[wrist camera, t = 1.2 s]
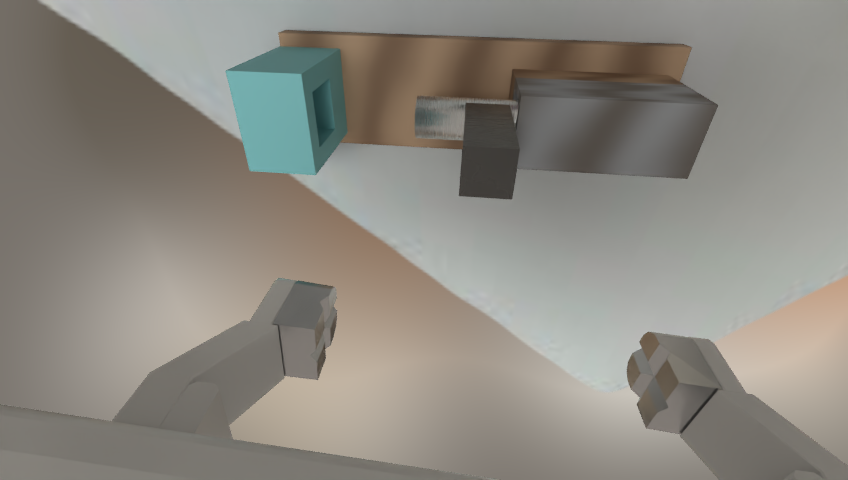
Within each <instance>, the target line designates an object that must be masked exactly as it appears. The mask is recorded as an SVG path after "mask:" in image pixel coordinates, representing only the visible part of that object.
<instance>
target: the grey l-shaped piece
mask: <svg viewBox="0 0 848 480" xmlns="http://www.w3.org/2000/svg"><path fill="white" fill-rule="evenodd" d="M518 108H519V101H518V100H502V99H481V98H460V97H438V96H417V99H416V107H415V137H416V138H425V139H444V140H462V141H463V149H462V162H461V176H460V189H459V196H468V197H484V198H499V199H512V196H513V190H514V184H515V177H516V171H517V165H518V158H519V152H520V147H519V143H518V138H517V134H516V130H515V128H516V121H517V115H518Z"/></svg>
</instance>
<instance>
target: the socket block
mask: <svg viewBox="0 0 848 480" xmlns="http://www.w3.org/2000/svg"><path fill="white" fill-rule="evenodd" d="M226 75H227V79H228V83H229V87H230V91H231V95H232V99H233V103H234V108H235V112H236V116H237V120H238V124H239V128H240V132H241V136H242V141H243V145H244V149H245V152H246V157H247V161H248V165H249V169H250V171H260V172H276V173H291V174H307V175H316V174H317V173H318V171H319V170H320V169H321V167H322V166H323V165H324V163H325V162H326V161H327V159H328V158H329V157H330V155H331V154H332V153H333V151H334V150H335V149H336V147H337V146H338V145H339V143H340V142H341V141H342V139H343V138H344V137H345V135H346V134H347V133H348V131H347V120H346V109H345V98H344V87H343V76H342V65H341V54H340V49H338V48H312V47H286V46H280V47H278V48H276V49H273V50H271V51H269V52H267V53H264V54H262V55H260V56H258V57H255V58H253V59H251V60H248V61H246V62H244V63H242V64H239V65H237V66H235V67H233V68H230V69H228V70H226Z"/></svg>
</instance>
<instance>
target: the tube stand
mask: <svg viewBox="0 0 848 480" xmlns="http://www.w3.org/2000/svg"><path fill="white" fill-rule="evenodd" d="M278 34H279V40H280V46H286V47H312V48H338V49H340V54H341V65H342V76H343V87H344V98H345V109H346V120H347V131H348V133H347V134H346V135H345V137H344V138H343V139H342V141H341V142H342V143H359V144H377V145H395V146H412V147H430V148H448V149H463V141H462V140H444V139H425V138H416V137H415V107H416V99H417V96H438V97H460V98H481V99H502V100H518V101H519V108H518V115H517V121H516V128H515V130H516V134H517V138H518V143H519V147H520V152H519V158H518V165H517V169H532V170H549V171H566V172H582V173H599V174H616V175H633V176H650V177H667V178H683V179H687V178H688V176H689V174H690V171H691V169H692V167H693V164H694V162H695V159H696V157H697V155H698V152H699V150H700V147H701V145H702V143H703V140H704V138H705V135H706V133H707V131H708V128H709V126H710V123H711V121H712V119H713V116H714V114H715V112H716V109H717V107H718V105H717V104H715V103H714V102H712V101H710V100H709V99H707V98H705V97H704V96H702V95H701V94H699V93H697V92H696V91H694V90H692V89H691V88H689V87H687V86H686V85H684V84H682V83H681V82H680V80H681V77H682V74H683V71H684V68H685V66H686V63H687V60H688V57H689V54H690V51H691V49H692V47H689V46H687V45H684V44H664V43H635V42H607V41H579V40H550V39H522V38H493V37H465V36H437V35H408V34H380V33H352V32H323V31H295V30H284V31H282V32H279V33H278Z"/></svg>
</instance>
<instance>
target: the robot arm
mask: <svg viewBox="0 0 848 480" xmlns="http://www.w3.org/2000/svg"><path fill="white" fill-rule="evenodd" d="M336 298H337V297H336V288H335V287H333V286H327V285H321V284H315V283H309V282H304V281H295V280H289V279H283V278H278V279H277V280H275V281H274V283H273V284H272V286H271V288H270V290H269V291H268V293H267V294H266V296H265V297H264V299H263V301H262V302H261V304H260V305H259V307H258V309H257V310H256V312H255V313H254V315H253V317H252V318H251V320H250V321H242V322H240V323H239V324H237V325H235V326H233V327H231V328H229V329H228V330H226V331H224V332H222V333H220V334H219V335H217V336H215V337H213V338H211V339H210V340H208V341H206V342H204V343H202V344H201V345H199V346H197V347H195V348H193V349H191V350H190V351H188V352H186V353H184V354H182V355H181V356H179V357H177V358H175V359H173V360H171V361H170V362H168V363H166V364H164V365H162V366H161V367H159V368H157V369H155V370H154V371H152V372H150V373H149V374H148V376H147V377H146V378H145V380H144V381H143V382H142V383H141V385H140V386H139V387H138V388H137V390H136V391H135V392H134V394H133V395H132V396H131V397H130V399H129V400H128V401H127V402H126V404H125V405H124V406H123V407H122V409H121V410H120V411H119V413H118V414H117V415H116V416H115V417H114V419H113V420H112V421H107V420H101V419H94V418H87V417H81V416H74V415H67V414H61V413H54V412H48V411H41V410H34V409H28V408H21V407H14V406H8V405H1V404H0V480H498V479H492V478H485V477H479V476H472V475H465V474H459V473H452V472H445V471H439V470H432V469H426V468H419V467H413V466H405V465H399V464H393V463H386V462H379V461H373V460H366V459H359V458H353V457H346V456H340V455H333V454H326V453H320V452H313V451H306V450H300V449H293V448H286V447H280V446H273V445H266V444H260V443H253V442H246V441H240V440H233V438H232V434H231V431H230V427H229V425H230V424H231V423H232V422H233V421H235V420H236V419H237V418H238V417H239V416H240V415H241V414H243V413H244V412H245V411H246V410H247V409H249V408H250V407H251V406H252V405H253V404H255V403H256V402H257V401H258V400H259V399H260V398H262V397H263V396H264V395H265V394H266V393H267V392H269V391H270V390H271V389H272V388H273V387H274V386H276V385H277V384H278V383H279V382H280V381H281V380H282V379H284V376H290V377H299V378H307V379H316V380H318V378H319V375H320V373H321V370H322V367H323V364H324V362H325V359H326V355H325V349H326V348H327V347H329V346H330V345H331V342H332V340H333V337H334V332H335V328H336V321H337V310H336V309H335V308H334V303H335V301H336ZM640 345H641V347H642V348H641V349H640V350H638V351H636V352H634V353H632V355H631V357H630V359H629V361H628V366H627V378H628V382H629V385H630V388H631V390H633V391H634V392H635V393H636V394H637V395H638V396H639V397H640V398H639V401H638V403H637V406H638V409H639V411H640V414H641V417H642V419H643V422H644V424H645V427H646V428H648V429H653V430H659V431H665V432H670V433H676V434H681V435H680V437H681V438H682V439H683V440H684V441H685V442H686V443H687V444H688V446H689V447H690V448H691V449H692V450H693V451H694V452H695V453H696V454H697V456H698V457H699V458H700V459H701V460H702V461H703V462H704V463H705V465H706V466H707V467H708V468H709V469H710V470H711V471H712V472H713V474H714V475H715V476H716V477H717V478H718V479H719V480H848V465H846V464H845V463H843V462H842V461H841V460H840V459H838V458H837V457H836V456H834V455H833V454H832V453H830V452H829V451H828V450H826V449H825V448H823V447H822V446H821V445H820V444H818V443H817V442H816V441H814V440H813V439H812V438H810V437H809V436H808V435H806V434H805V433H804V432H802V431H801V430H800V429H798V428H797V427H795V426H794V425H793V424H792V423H790V422H789V421H788V420H786V419H785V418H784V417H782V416H781V415H779V414H778V413H777V412H776V411H774V410H773V409H772V408H770V407H769V406H768V405H766V404H765V403H764V402H762V401H761V400H760V399H758V398H757V397H756V396H754V395H752V394H747V393H746V392H745V390H744V389H743V387H742V386H741V384H740V383H739V381H738V379H737V378H736V376H735V375H734V373H733V372H732V370H731V369H730V368H729V366H728V364H727V362H726V361H725V359H724V358H723V357H722V355H721V353H720V352H719V350H718V349H717V347H716V346H715V344H714V343H713V342H711V341H710V340H709V339H701V338H693V337H684V336H677V335H669V334H662V333H655V332H647V333H646V334H644V335H643V337H642V338H641V340H640Z"/></svg>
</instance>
